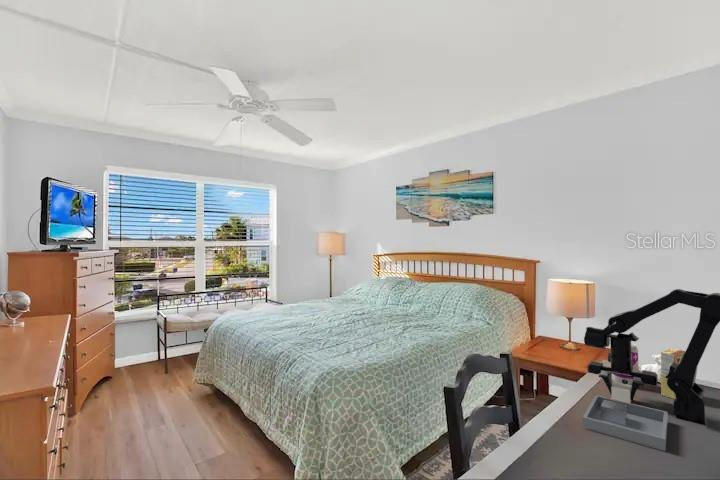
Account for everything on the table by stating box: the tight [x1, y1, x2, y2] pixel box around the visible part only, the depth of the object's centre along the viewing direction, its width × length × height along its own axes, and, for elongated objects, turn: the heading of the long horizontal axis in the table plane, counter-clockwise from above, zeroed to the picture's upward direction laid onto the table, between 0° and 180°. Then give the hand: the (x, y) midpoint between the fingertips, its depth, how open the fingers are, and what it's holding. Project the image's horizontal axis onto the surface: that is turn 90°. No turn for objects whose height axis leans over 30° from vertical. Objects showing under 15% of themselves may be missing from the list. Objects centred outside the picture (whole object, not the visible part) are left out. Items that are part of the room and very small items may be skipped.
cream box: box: [611, 381, 632, 404], centre depth 121 cm, size 5×6×5 cm
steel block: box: [601, 400, 628, 426], centre depth 107 cm, size 6×6×4 cm
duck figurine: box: [640, 353, 661, 384], centre depth 138 cm, size 12×8×11 cm
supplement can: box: [611, 342, 640, 386], centre depth 136 cm, size 8×8×15 cm
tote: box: [582, 395, 669, 452], centre depth 104 cm, size 18×20×4 cm
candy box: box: [660, 347, 686, 400], centre depth 125 cm, size 9×4×15 cm, turn 119°
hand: (621, 398), depth 121 cm, fingers closed on cream box, 5 cm apart
